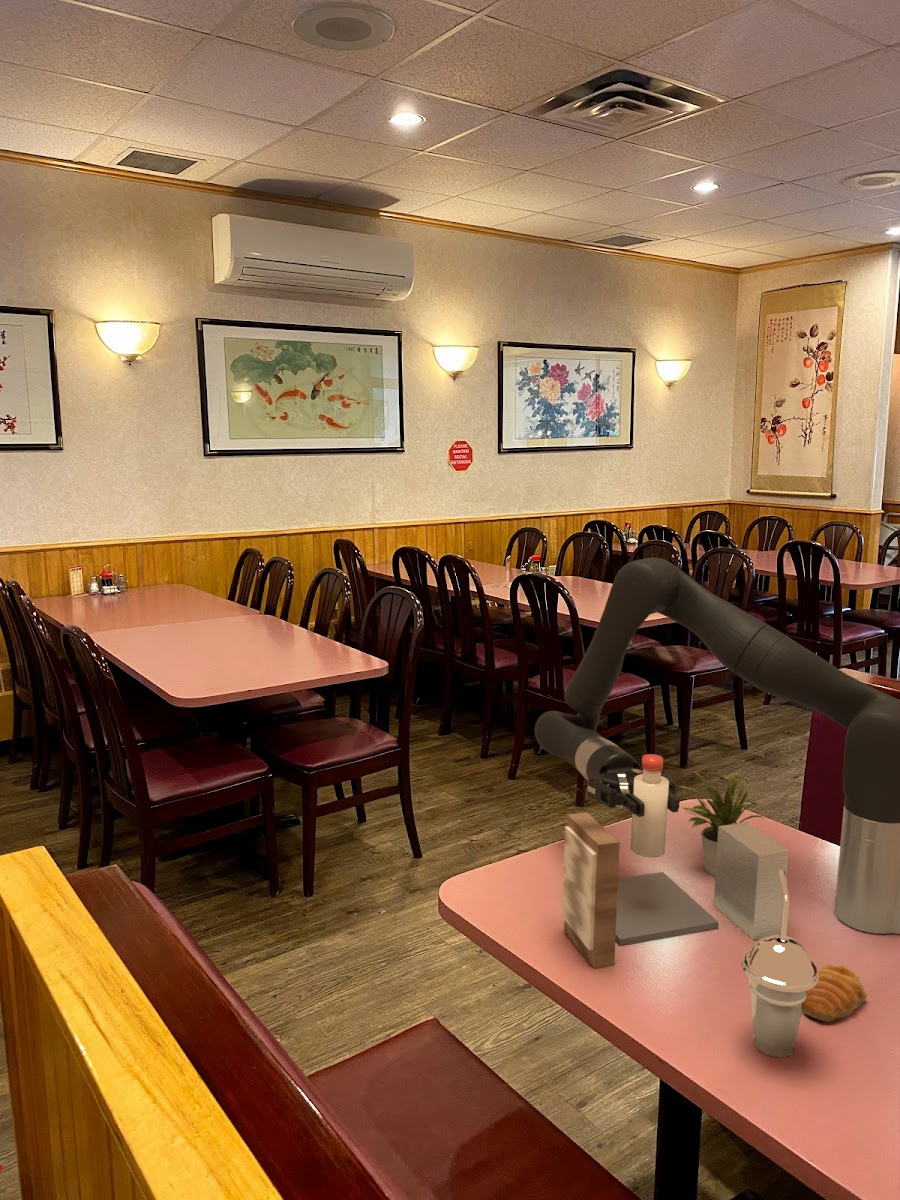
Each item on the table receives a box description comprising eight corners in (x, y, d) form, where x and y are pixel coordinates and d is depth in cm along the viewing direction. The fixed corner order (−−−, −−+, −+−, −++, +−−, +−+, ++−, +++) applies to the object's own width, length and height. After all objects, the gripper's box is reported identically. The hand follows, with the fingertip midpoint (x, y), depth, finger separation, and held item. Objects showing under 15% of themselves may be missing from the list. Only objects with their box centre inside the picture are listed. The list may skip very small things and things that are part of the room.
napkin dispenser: (713, 905, 141) (718, 826, 138) (741, 900, 142) (747, 822, 140) (752, 939, 131) (758, 855, 129) (782, 934, 133) (788, 850, 130)
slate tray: (572, 891, 145) (572, 885, 144) (662, 877, 149) (662, 871, 149) (619, 945, 130) (620, 939, 129) (718, 928, 134) (718, 922, 134)
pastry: (839, 1035, 111) (842, 1007, 110) (786, 1011, 116) (788, 983, 115) (868, 1001, 118) (871, 974, 117) (817, 979, 122) (819, 953, 122)
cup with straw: (724, 1046, 109) (735, 891, 105) (755, 1010, 115) (766, 863, 112) (795, 1080, 103) (809, 917, 99) (823, 1040, 110) (837, 886, 106)
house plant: (685, 840, 162) (690, 753, 159) (767, 856, 157) (774, 766, 153) (667, 875, 150) (672, 781, 147) (755, 894, 144) (762, 796, 141)
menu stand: (560, 930, 133) (563, 815, 130) (582, 927, 134) (586, 812, 131) (590, 969, 124) (594, 845, 121) (614, 964, 125) (619, 842, 122)
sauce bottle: (668, 846, 138) (673, 755, 135) (660, 860, 133) (665, 766, 130) (635, 839, 140) (640, 749, 137) (626, 853, 135) (631, 760, 133)
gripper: (566, 748, 146) (616, 789, 130) (646, 740, 150) (704, 778, 134) (564, 792, 147) (613, 838, 131) (644, 783, 151) (701, 826, 135)
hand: (659, 808), depth 133 cm, fingers closed on sauce bottle, 5 cm apart
